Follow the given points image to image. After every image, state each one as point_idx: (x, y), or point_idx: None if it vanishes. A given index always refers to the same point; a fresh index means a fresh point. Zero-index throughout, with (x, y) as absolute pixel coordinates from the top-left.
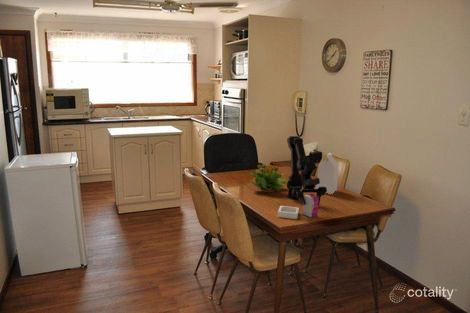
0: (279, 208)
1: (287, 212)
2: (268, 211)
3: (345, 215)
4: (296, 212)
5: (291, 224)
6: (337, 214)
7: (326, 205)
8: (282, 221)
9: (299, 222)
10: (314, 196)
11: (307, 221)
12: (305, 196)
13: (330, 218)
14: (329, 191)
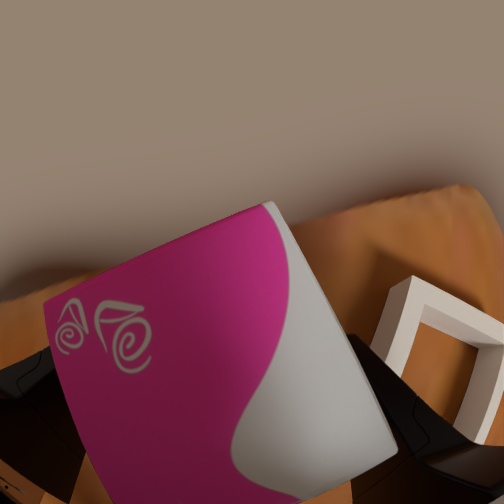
0: (496, 408)
1: (475, 311)
2: (501, 433)
3: (6, 306)
4: (413, 312)
5: (434, 199)
6: (29, 337)
7: (42, 498)
8: (476, 253)
9: (385, 221)
10: (141, 313)
11: (321, 232)
12: (378, 415)
13: (102, 272)
14: None
